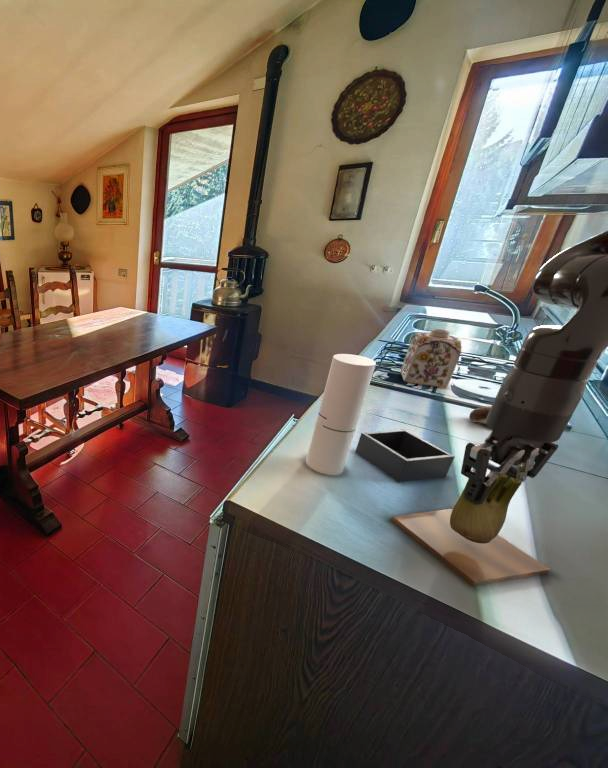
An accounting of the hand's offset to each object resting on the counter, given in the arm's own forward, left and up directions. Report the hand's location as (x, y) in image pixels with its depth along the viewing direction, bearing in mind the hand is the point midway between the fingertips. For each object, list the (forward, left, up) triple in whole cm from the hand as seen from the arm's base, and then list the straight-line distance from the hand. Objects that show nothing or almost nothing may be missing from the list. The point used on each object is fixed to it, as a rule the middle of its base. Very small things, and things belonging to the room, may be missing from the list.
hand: (486, 499), depth 61 cm
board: (0, 0, -10) cm, 10 cm away
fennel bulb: (0, 0, -8) cm, 8 cm away
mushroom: (-51, -35, -10) cm, 63 cm away
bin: (-10, -22, -10) cm, 26 cm away
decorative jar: (-65, -66, -10) cm, 93 cm away
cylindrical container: (+7, -24, -10) cm, 27 cm away
